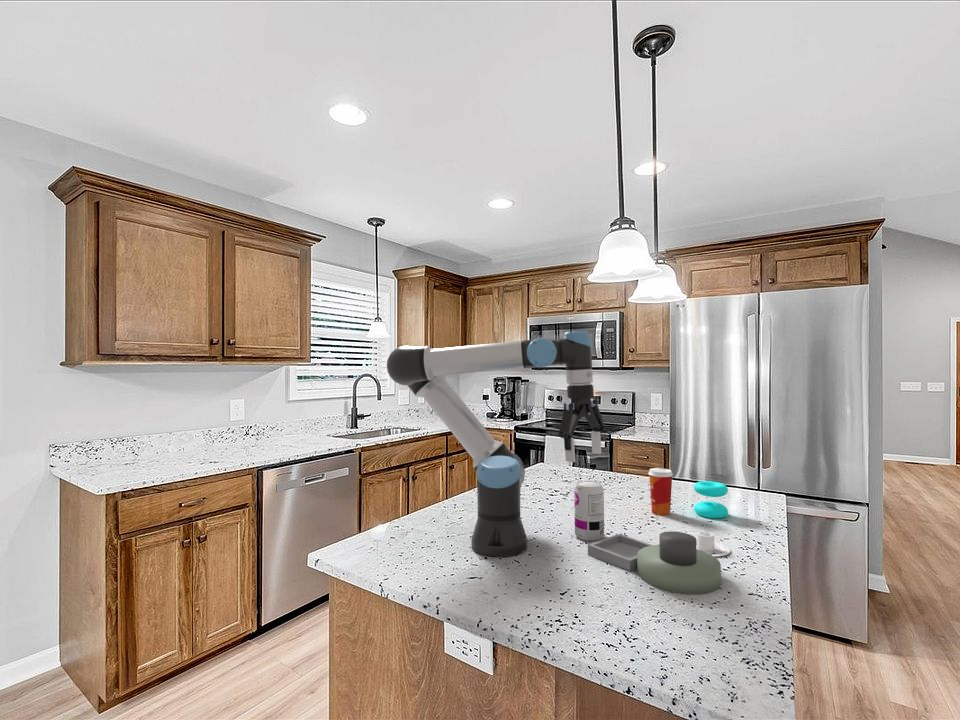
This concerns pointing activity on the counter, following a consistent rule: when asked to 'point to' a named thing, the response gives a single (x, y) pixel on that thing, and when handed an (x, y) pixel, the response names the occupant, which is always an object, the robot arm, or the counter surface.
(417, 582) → the counter surface
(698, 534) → the candle holder
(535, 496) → the counter surface
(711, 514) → the donuts
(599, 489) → the supplement can
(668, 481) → the paper cup
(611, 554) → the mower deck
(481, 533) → the robot arm
